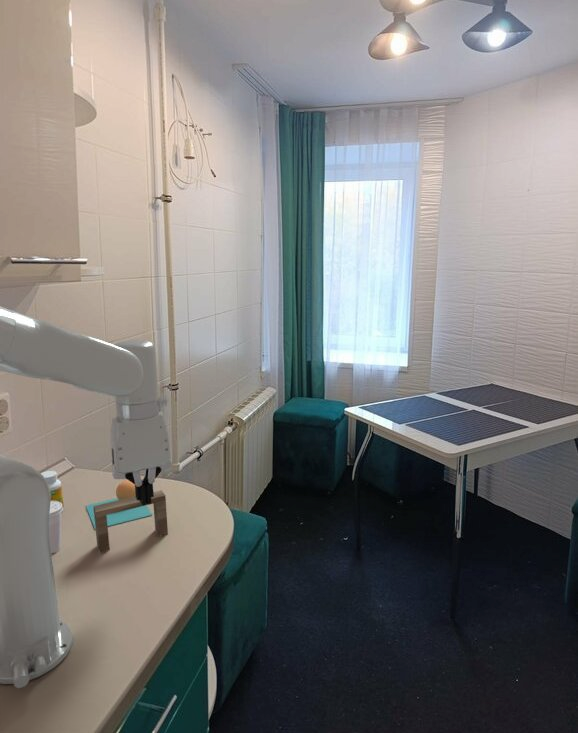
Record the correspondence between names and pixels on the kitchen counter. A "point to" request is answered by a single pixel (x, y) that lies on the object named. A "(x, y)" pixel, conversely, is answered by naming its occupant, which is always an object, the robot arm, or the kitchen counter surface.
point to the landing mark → (120, 514)
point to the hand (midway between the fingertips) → (145, 501)
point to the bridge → (126, 504)
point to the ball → (125, 490)
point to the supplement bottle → (54, 486)
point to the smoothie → (55, 525)
